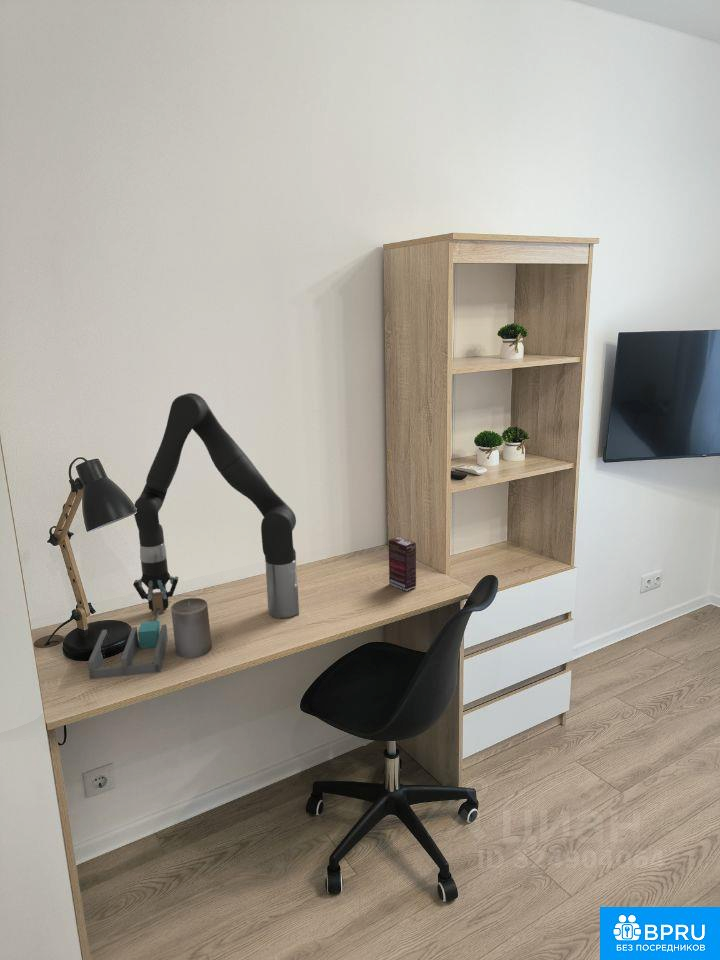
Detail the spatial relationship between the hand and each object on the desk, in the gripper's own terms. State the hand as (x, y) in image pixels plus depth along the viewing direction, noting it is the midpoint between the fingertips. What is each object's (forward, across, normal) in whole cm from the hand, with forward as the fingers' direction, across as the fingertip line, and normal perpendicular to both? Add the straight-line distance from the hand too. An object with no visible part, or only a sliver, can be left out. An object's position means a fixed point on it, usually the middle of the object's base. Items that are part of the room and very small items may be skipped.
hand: (159, 609), depth 215 cm
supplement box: (+1, -78, -5) cm, 78 cm away
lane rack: (+1, +4, +28) cm, 28 cm away
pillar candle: (+1, -12, +27) cm, 29 cm away
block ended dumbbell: (+1, 0, +11) cm, 11 cm away
